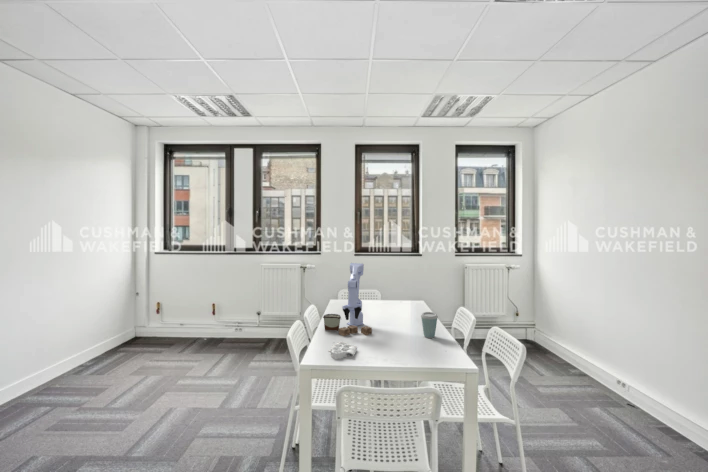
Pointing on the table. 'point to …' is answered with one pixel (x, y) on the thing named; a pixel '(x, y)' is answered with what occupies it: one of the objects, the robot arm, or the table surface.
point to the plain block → (353, 329)
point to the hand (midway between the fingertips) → (351, 319)
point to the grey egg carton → (342, 350)
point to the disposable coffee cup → (429, 324)
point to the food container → (331, 322)
